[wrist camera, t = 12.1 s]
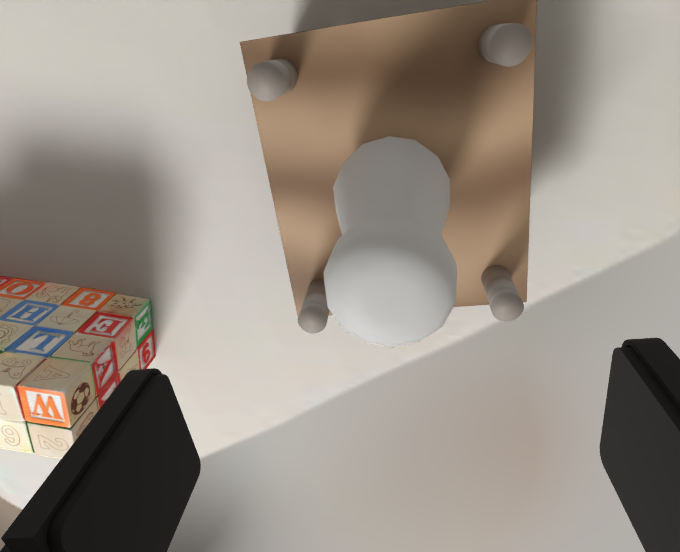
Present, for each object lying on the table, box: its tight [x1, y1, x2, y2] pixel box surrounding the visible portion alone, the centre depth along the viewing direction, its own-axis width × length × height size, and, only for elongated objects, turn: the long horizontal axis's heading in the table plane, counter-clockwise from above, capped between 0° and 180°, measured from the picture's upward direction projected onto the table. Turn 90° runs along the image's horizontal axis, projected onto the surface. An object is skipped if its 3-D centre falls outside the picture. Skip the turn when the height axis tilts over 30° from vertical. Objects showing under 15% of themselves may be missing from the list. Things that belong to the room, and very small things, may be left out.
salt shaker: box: [324, 136, 457, 347], centre depth 20 cm, size 6×6×13 cm
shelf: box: [240, 0, 537, 333], centre depth 28 cm, size 16×14×11 cm
